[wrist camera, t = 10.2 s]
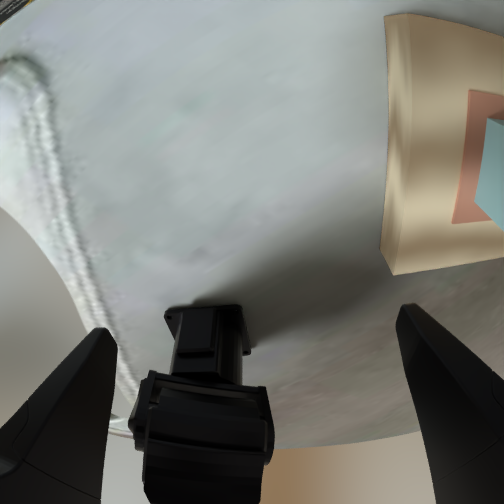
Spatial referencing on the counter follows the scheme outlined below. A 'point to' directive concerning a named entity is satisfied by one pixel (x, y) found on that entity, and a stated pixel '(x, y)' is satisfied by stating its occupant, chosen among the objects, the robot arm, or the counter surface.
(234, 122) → the counter surface
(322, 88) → the counter surface
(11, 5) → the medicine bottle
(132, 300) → the counter surface
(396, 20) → the stack base
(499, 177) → the teal block
